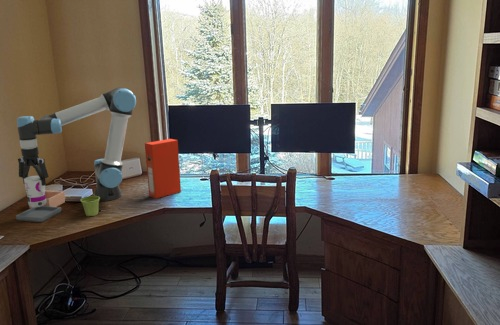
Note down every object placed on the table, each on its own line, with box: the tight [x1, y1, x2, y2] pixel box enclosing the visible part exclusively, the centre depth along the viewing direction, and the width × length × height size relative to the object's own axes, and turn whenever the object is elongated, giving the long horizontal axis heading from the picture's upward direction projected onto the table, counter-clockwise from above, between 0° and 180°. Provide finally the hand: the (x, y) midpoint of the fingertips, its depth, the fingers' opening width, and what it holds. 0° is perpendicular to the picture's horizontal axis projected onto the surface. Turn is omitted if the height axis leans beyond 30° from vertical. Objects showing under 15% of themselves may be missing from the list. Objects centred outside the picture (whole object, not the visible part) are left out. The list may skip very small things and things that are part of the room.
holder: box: [28, 190, 66, 209], centre depth 226 cm, size 13×13×6 cm
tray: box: [15, 206, 63, 223], centre depth 211 cm, size 15×15×2 cm
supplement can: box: [24, 174, 46, 208], centre depth 208 cm, size 8×8×15 cm
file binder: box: [144, 138, 182, 200], centre depth 239 cm, size 8×17×32 cm, turn 135°
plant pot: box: [80, 195, 100, 217], centre depth 211 cm, size 9×9×9 cm
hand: (35, 190), depth 208 cm, fingers closed on supplement can, 8 cm apart
